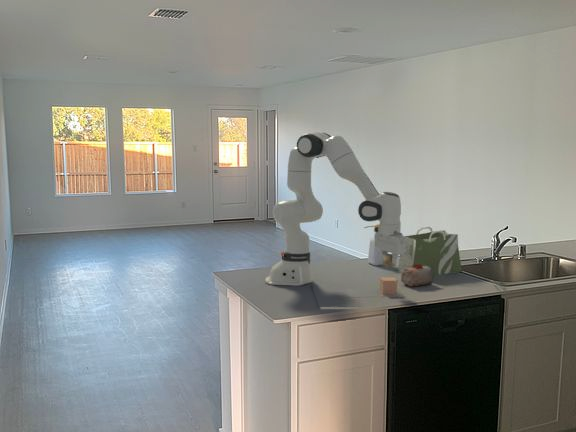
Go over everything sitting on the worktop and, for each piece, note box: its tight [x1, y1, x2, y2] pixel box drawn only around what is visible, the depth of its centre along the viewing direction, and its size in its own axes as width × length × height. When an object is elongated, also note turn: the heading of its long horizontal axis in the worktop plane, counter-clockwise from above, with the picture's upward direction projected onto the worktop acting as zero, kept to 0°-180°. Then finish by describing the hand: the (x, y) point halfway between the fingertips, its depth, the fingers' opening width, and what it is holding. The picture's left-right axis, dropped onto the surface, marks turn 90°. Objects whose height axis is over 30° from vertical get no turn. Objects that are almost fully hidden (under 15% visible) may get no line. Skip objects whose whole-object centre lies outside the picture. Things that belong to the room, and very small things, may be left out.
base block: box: [379, 276, 398, 294], centre depth 241 cm, size 6×6×6 cm
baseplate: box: [344, 287, 407, 298], centre depth 241 cm, size 24×14×1 cm, turn 93°
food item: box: [400, 264, 433, 288], centre depth 260 cm, size 14×8×10 cm, turn 116°
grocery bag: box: [397, 226, 463, 276], centre depth 285 cm, size 32×14×23 cm, turn 116°
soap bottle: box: [364, 223, 390, 267], centre depth 304 cm, size 10×14×22 cm
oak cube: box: [383, 253, 397, 267], centre depth 240 cm, size 4×4×4 cm
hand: (389, 261), depth 240 cm, fingers closed on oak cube, 5 cm apart
